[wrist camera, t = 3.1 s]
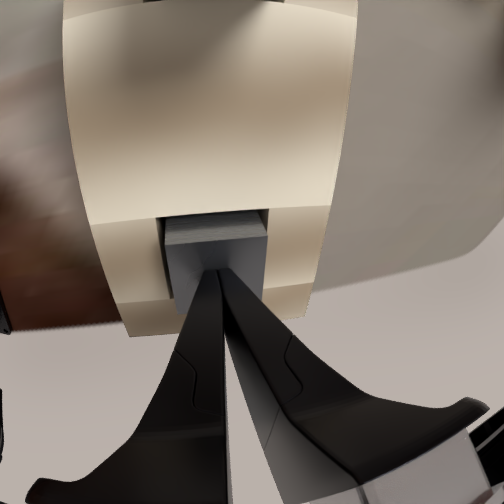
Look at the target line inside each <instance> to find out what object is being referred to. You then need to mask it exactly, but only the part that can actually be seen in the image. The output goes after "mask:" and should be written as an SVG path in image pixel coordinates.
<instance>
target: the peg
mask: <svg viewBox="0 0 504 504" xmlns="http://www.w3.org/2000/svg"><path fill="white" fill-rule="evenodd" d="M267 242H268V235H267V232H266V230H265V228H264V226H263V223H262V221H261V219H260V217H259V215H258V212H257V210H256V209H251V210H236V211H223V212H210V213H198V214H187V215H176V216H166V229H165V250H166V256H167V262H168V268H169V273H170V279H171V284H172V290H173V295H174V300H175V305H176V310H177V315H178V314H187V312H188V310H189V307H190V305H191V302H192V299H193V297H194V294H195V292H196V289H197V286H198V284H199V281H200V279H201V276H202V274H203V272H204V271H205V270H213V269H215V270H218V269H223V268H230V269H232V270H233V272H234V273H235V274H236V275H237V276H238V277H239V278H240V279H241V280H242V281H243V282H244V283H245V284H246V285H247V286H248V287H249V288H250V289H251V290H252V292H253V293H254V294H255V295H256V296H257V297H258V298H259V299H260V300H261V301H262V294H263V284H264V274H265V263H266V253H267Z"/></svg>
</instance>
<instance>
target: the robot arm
mask: <svg viewBox="0 0 504 504" xmlns="http://www.w3.org/2000/svg"><path fill="white" fill-rule="evenodd" d="M11 331H12V328H11V325H10V323H9V320H8V317H7V314H6V311H5V308H4V305H3V302H2V298H1V295H0V333H3V334H7V335H10V334H11ZM224 333H225V337H226V341H227V344H228V348H229V351H230V354H231V357H232V360H233V363H234V367H235V370H236V372H237V376H238V379H239V382H240V385H241V388H242V391H243V394H244V397H245V400H246V403H247V406H248V409H249V412H250V415H251V418H252V420H253V423H254V426H255V429H256V432H257V435H258V437H259V440H260V443H261V446H262V448H263V451H264V454H265V457H266V459H267V462H268V465H269V467H270V470H271V473H272V475H273V478H274V480H275V483H276V485H277V488H278V491H279V493H280V496H281V498H282V500H283V503H284V504H301V503H306V502H310V504H504V407H503V408H501V409H500V410H499V411H497V412H496V413H495V414H494V415H492V416H491V417H490V418H489V419H487V420H486V421H484V422H483V423H482V424H480V425H479V426H478V427H476V428H475V429H474V430H473V431H471V432H470V433H468V432H467V430H466V427H467V426H469V425H470V424H472V423H473V422H474V421H476V420H477V419H478V418H480V417H481V416H482V415H484V414H485V413H486V412H487V411H488V410H489V409H490V408H489V407H488V406H487V405H486V404H485V403H483V402H481V401H479V400H476V399H473V398H469V397H465V398H463V399H461V400H459V401H458V402H457V403H455V404H453V405H451V406H449V407H445V408H428V407H422V406H417V405H411V404H405V403H401V402H396V401H391V400H386V399H382V398H378V397H374V396H372V395H369V394H367V393H365V392H363V391H362V390H360V389H359V388H357V387H356V386H354V385H353V384H352V383H351V382H349V381H348V380H346V379H345V378H344V377H343V376H341V375H340V374H339V373H337V372H336V371H335V370H334V369H332V368H331V367H329V366H328V365H327V364H326V363H325V362H323V361H322V360H321V359H320V358H319V357H317V356H316V355H315V354H314V353H313V352H312V351H310V350H309V349H308V348H307V347H306V346H305V345H304V344H303V343H302V342H301V341H300V340H299V339H298V338H297V337H296V336H295V335H293V333H292V332H291V331H290V330H289V329H288V328H287V327H286V326H285V325H284V324H283V323H282V322H281V321H280V320H279V319H278V317H277V316H276V315H275V314H274V313H273V312H272V311H271V310H270V309H269V308H268V307H267V306H266V305H265V304H264V303H263V302H262V301H261V300H260V299H259V298H258V297H257V296H256V295H255V294H254V293H253V292H252V290H251V289H250V288H249V287H248V286H247V285H246V284H245V283H244V282H243V281H242V280H241V279H240V278H239V277H238V276H237V275H236V274H235V273H234V272H233V270H232V269H230V268H223V269H218V270H215V269H213V270H205V271H204V272H203V274H202V276H201V279H200V281H199V284H198V286H197V289H196V292H195V294H194V297H193V299H192V302H191V305H190V307H189V310H188V312H187V315H186V318H185V320H184V323H183V326H182V328H181V331H180V334H179V337H178V339H177V342H176V345H175V347H174V351H173V353H172V355H171V358H170V361H169V363H168V366H167V369H166V371H165V373H164V376H163V378H162V380H161V382H160V384H159V386H158V388H157V390H156V392H155V394H154V396H153V398H152V400H151V402H150V404H149V405H148V407H147V409H146V411H145V413H144V415H143V417H142V419H141V421H140V423H139V424H138V426H137V428H136V430H135V431H134V433H133V434H132V436H131V437H130V438H129V439H128V440H127V441H126V443H124V444H123V445H122V446H121V447H120V448H119V449H117V450H116V451H115V452H114V453H113V454H112V455H111V456H110V457H109V458H107V459H106V460H105V461H104V462H103V463H101V464H100V465H99V466H98V467H97V468H96V469H94V470H93V471H92V472H91V473H90V474H88V475H87V476H86V477H84V478H82V479H80V480H77V481H72V482H63V481H58V480H53V479H47V478H39V479H37V481H36V482H35V483H34V484H33V485H32V487H31V488H30V490H29V491H28V493H27V496H26V499H25V502H26V503H27V504H233V498H232V485H231V469H230V453H229V435H228V416H227V395H226V369H225V368H226V367H225V337H224ZM3 445H4V433H3V417H2V389H0V463H1V460H2V455H1V454H2V451H3ZM0 504H7V503H4V502H1V501H0Z"/></svg>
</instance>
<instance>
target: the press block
mask: <svg viewBox="0 0 504 504" xmlns="http://www.w3.org/2000/svg"><path fill="white" fill-rule="evenodd" d="M357 11H358V0H165V1H162V0H64V6H63V70H64V85H65V96H66V106H67V115H68V122H69V129H70V136H71V142H72V148H73V154H74V160H75V165H76V170H77V175H78V179H79V184H80V188H81V193H82V197H83V201H84V205H85V209H86V213H87V217H88V221H89V224H90V228H91V231H92V235H93V238H94V242H95V245H96V248H97V251H98V254H99V258H100V261H101V264H102V267H103V270H104V273H105V276H106V278H107V281H108V284H109V287H110V290H111V292H112V295H113V298H114V300H115V303H116V305H117V308H118V311H119V313H120V315H121V318H122V320H123V323H124V325H125V327H126V330H127V332H128V335H129V337H137V336H152V335H164V334H175V333H180V331H181V328H182V326H183V323H184V320H185V318H186V315H187V314H178V315H177V310H176V305H175V300H174V295H173V290H172V284H171V279H170V273H169V268H168V262H167V256H166V250H165V229H166V216H176V215H187V214H198V213H210V212H223V211H236V210H251V209H256V210H257V212H258V215H259V217H260V219H261V221H262V223H263V226H264V228H265V230H266V232H267V235H268V242H267V253H266V263H265V274H264V284H263V294H262V302H263V303H264V304H265V305H266V306H267V307H268V308H269V309H270V310H271V311H272V312H273V313H274V314H275V315H276V316H277V317H278V319H279V320H287V319H292V318H299V317H304V316H305V313H306V310H307V306H308V302H309V298H310V294H311V290H312V286H313V282H314V278H315V274H316V270H317V266H318V262H319V258H320V253H321V249H322V244H323V240H324V235H325V231H326V226H327V222H328V217H329V212H330V207H331V202H332V197H333V192H334V187H335V181H336V176H337V170H338V165H339V159H340V153H341V147H342V141H343V135H344V128H345V122H346V115H347V108H348V101H349V93H350V85H351V77H352V68H353V59H354V48H355V37H356V25H357Z"/></svg>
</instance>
